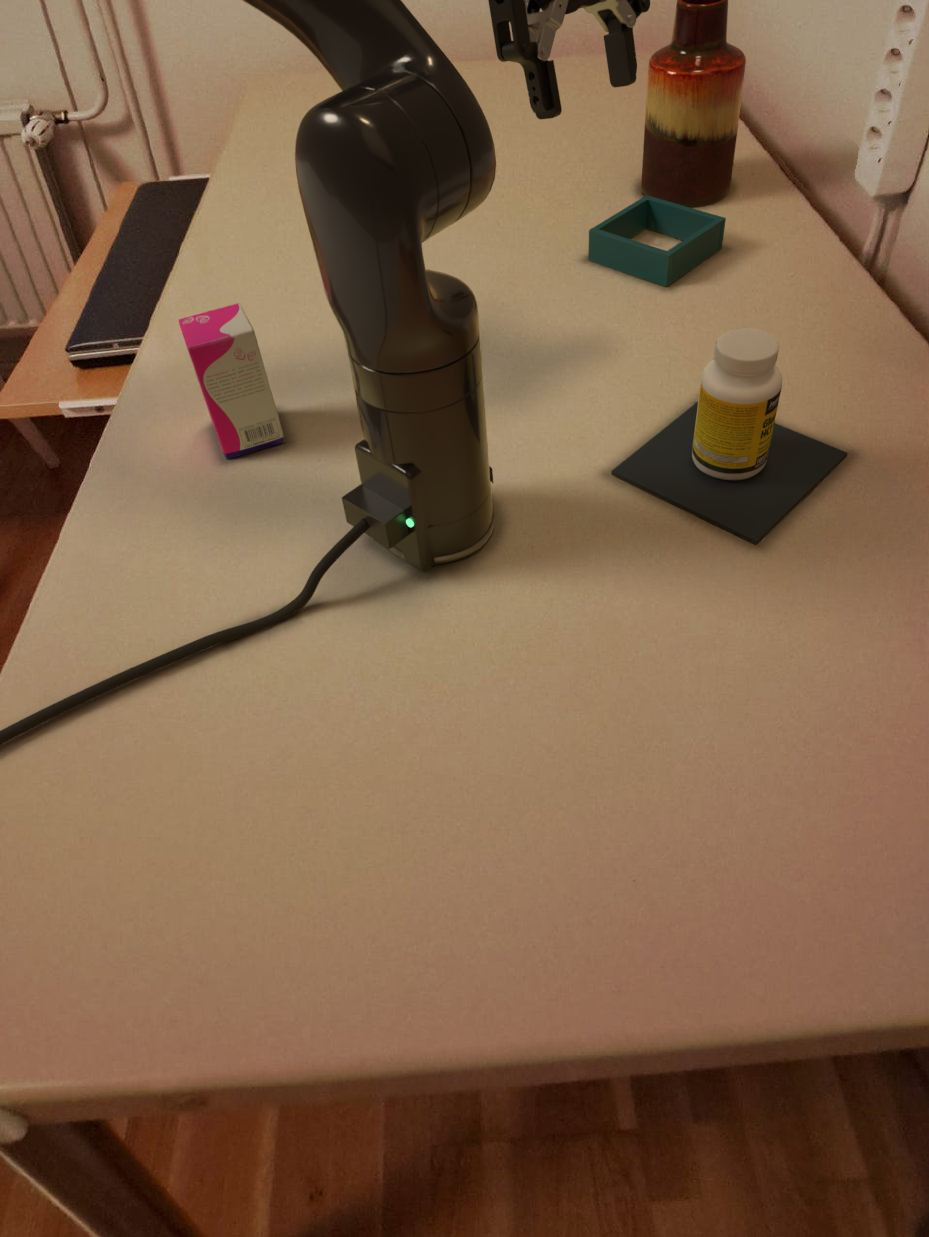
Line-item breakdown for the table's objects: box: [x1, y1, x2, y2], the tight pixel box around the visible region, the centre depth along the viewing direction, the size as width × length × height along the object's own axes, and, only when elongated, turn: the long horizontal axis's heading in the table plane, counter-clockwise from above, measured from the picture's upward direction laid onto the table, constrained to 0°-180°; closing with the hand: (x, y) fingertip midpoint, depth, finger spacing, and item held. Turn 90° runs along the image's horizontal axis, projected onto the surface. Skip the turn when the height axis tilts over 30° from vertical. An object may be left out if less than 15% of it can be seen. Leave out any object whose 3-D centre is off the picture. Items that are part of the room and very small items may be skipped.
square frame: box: [587, 195, 727, 288], centre depth 104 cm, size 11×11×4 cm
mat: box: [610, 401, 848, 545], centre depth 79 cm, size 14×14×1 cm
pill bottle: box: [692, 327, 783, 480], centre depth 75 cm, size 6×6×11 cm
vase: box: [640, 0, 747, 208], centre depth 109 cm, size 11×11×20 cm
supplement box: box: [178, 302, 286, 460], centre depth 84 cm, size 6×6×12 cm
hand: (587, 101), depth 73 cm, fingers open, 8 cm apart
